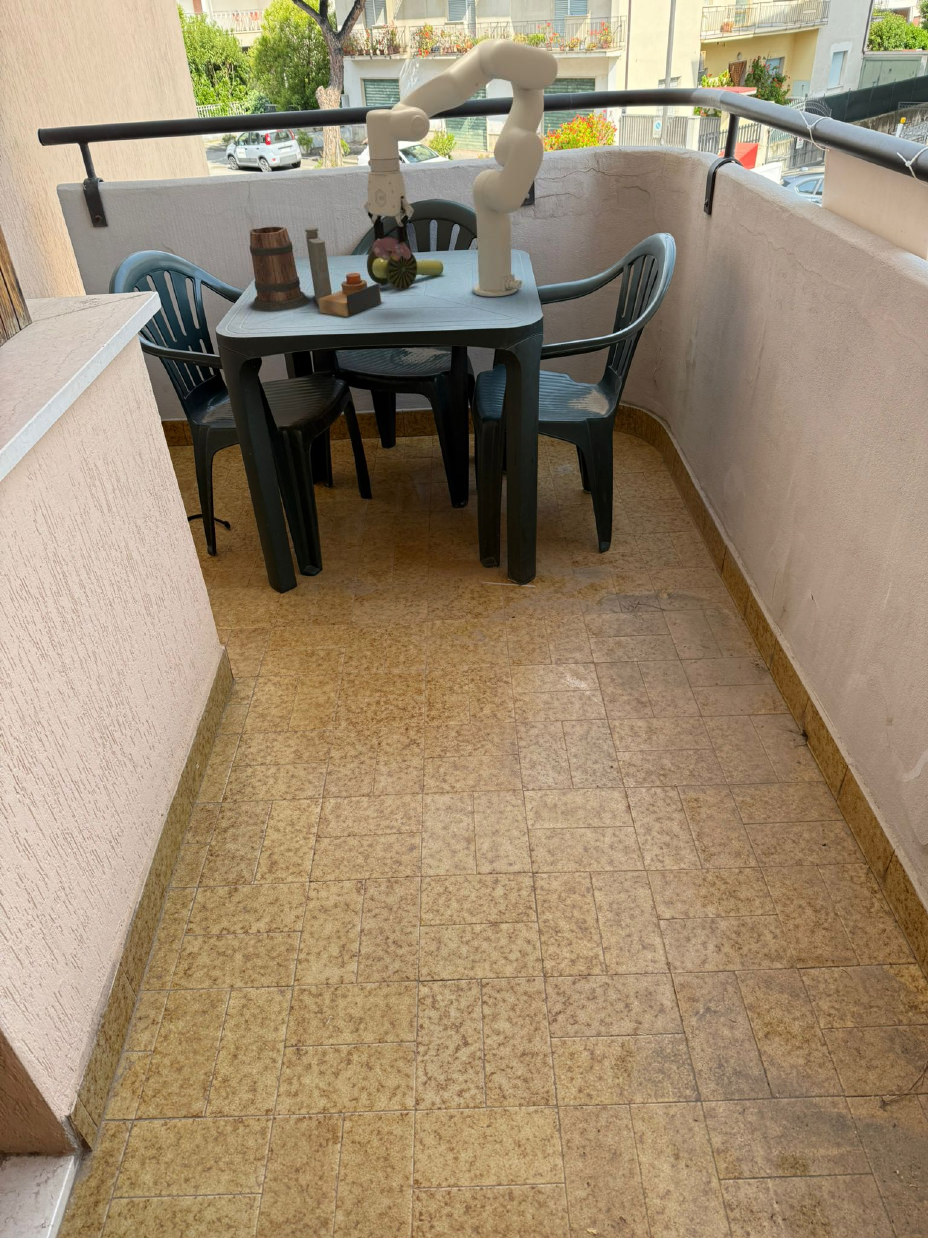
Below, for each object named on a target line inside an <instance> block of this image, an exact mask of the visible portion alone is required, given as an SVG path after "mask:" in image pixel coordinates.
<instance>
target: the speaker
mask: <svg viewBox="0 0 928 1238" xmlns="http://www.w3.org/2000/svg"><path fill="white" fill-rule="evenodd" d="M367 287H368V282H367V281H366V280H365V279H361V283H360V284H355V285H349V284H347V280H345V281H342V283H341V290H339V291H337V292H332V294H331V295H328V296H325V297H322V298H320V299H318V301H319V305H318V307H319V313H322V314H328V315H331V316H332V315H333V316H339V317H344V318H347V317H350V316H353V315H355V314H357V313H360V312H363V311H365V310H368V309H370V308H373V307H375V306H378V305H381V304H382V295H381V289H379V293H380V302H381V303H379V304H376V305H374V306H371V307H369V308H366V309H364V310H361V311H359V312H356V313H354V314H351V315H349V313H348V305H347V297H346V295H348V294H351V293H354V292H356V291H359V290H362V289H364V288H367Z"/></svg>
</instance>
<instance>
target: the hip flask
mask: <svg viewBox="0 0 928 1238" xmlns="http://www.w3.org/2000/svg"><path fill="white" fill-rule="evenodd" d="M304 232H305V239H306V246H307V253H308V259H309V265H310V272H311V273H310V274H311V278H312V286H313V293H314V301H315V302H316V305H318V306H319V301H318V299H320V298H322V297H325V296H328V295H331V294H333V291H332V285H331V278H330V270H329V264H328V256H327V249H326V242H325V240H323V239H321V238H320V237H319V228H318V227H316V226H309V227H305V228H304Z"/></svg>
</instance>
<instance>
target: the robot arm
mask: <svg viewBox="0 0 928 1238" xmlns="http://www.w3.org/2000/svg"><path fill="white" fill-rule="evenodd" d="M558 70H559V68H558V62H557V59H556V57H555V56H554V54H553V53H552V52H551V51H549V50H547V49H544V48H540V47H537V46H533V45H529V44H525V43H521V42H519V41H515V40H512V39H508V38H502V37H501V38H499V37H497V38H493V37H491V38H485V39H482V40H480V41H479V42H478V43H476V44H475V45H474V46H473V47H471V49H469V50H468V51H467V52H465V53H464V54H463V55H462V56H461V57H459V58H458V59H457V60H456V61H454V62H453V63H452V64H451V65H450V66H448V67H447V68H446V69H445V70H443V71H442V72H440V73H439V74H437V75H435V76H434V77H432V78H431V79H429V80H428V81H426V82H424V83H422V84H421V85H419V86H418V87H416V88H414V89H413V90H411V91H410V92H409V93H407V95H405V96H404V97H403V98H402V99H400V100H399V101H398V102H397V103H396V104H395V105H393V106H392V108H391V109H388V108H387V109H386V108H384V109H383V108H382V109H373V110H369V111H368V112H366V116H365V119H366V120H365V122H366V123H365V124H366V134H367V146H368V156H369V157H368V158H369V160H368V161H367V165H368V166H369V167H370V171H369V172H368V174H367V175H368V176H367V201H366V202H365V204H364V205H363V208H364V209H365V212H366V213H367V216H368V218H369V219H370V222H371V224H373V233H374V240H375V241H377V239H381V240H382V239H383V238H385V229H384V228H385V227H384V222H383V221H382V219H383V217H392V218H393V217H394V219H395V220H396V222H397V225H398V226H396V234H397V240H398V242H399V243H402V242H404V243H405V242H407V241H408V229H407V227H408V225H409V222H410V221H411V220H412V217H413V214H414V212H415V209H414V208H413V207H412V205H411V204H410V203H409V202H408V201H407V193H406V192H407V191H406V185H405V180H404V176H403V172H402V171H401V169H400V168H401V165H400V163H401V162H400V152H399V151H400V150H399V142H412V143H417V142H420V141H422V140H423V139H425V138H426V137H427V135H428V133H429V132H430V129H431V128H430V127H431V123H430V118H431V117H433V116H435V115H437V114H439V113H441V112H442V113H443V112H445V111H449V110H452V109H455V108H458V107H460V106H462V105H464V104H465V103H467V101H468V100H470V99H471V98H472V97H473V96H474V95H476V94H477V93H479V92H480V91H481V90H482V89H483V88H484V87H486V86H487V85H488V84H490V83H491V82H492V81H493V80H503V81H506V82H510V84H511V85H510V86H511V89H512V96H513V97H512V103H511V107H510V110H509V112H508V115H507V118H506V120H505V121H504V124H503V127H502V129H501V131H500V134H499V136H498V137H497V140H496V142H495V143H494V144H495V145H494V149H493V156H494V160H495V162H496V163H497V164H498V165H499V166H501V167H502V170H499V169H493V168H489V169H485V170H482V171H481V172H480V173H478V174H477V176H476V177H475V179H474V181H473V185H472V200H473V205H474V206H473V207H474V212H475V219H476V220H475V221H476V244H477V273H478V284H476V285H475V286H474V287H473V293H474V294H475V295H478V296H481V297H504V296H508V295H512V294H515V293H516V292H517V291H518V290H520V289H521V288H522V285H523V281H522V280H520V279H516V278H515V277H516V276H515V274H514V273H512V235H511V234H512V226H511V216H510V214H511V213H514V212H516V211H517V210H519V208H520V207H521V206H522V205H523V203H524V201H525V200H526V198H527V196H528V194H529V192H530V190H531V187H532V185H533V183H534V182H535V179H536V177H537V174H538V173H539V170H540V168H541V166H542V162H543V158H544V144H543V142H542V140H541V138H540V136H539V135H538V134H537V131H538V128H539V127H540V124H541V121H542V118H543V115H544V110H545V109H544V108H545V101H544V92H543V90H545V89H548V88H549V87H551V86H552V85H553V84H554V82H555V81H556V79H557V76H558Z"/></svg>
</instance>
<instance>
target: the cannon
mask: <svg viewBox="0 0 928 1238" xmlns="http://www.w3.org/2000/svg"><path fill="white" fill-rule="evenodd" d="M388 252H389V254H390V256H389V258H388V260H383V259H382V258H381V257H380V258H379V257H377V256H376V255H375V253H374V252H373V250H372V249H371V250H370V251H369V253H368V255H367V259H366V271H367V273H368V276H369V278H370V279H371V280H372V281H373V283H375V284H379V285H386V284H388V283H389V285H390V286H391V287H392V288H394V289H396V290H399V291H404V290H407V289H409V288H410V287H411V286H412V285H413V284H414V282H415V281H416V278H417V276H441V275H442V274H443V272H444V264H443V262H442V261H441V260H431V259H430V260H429V259H427V260H426V259H425V260H424V259H423V260H417V259H416V256H415V255H414V253H412V251H410V253H411V257H410V259H406V258H404V257H403V256H400V259H399V260H398V261H395V260H393V259H392V257H391V256H392V253H393V251H388Z"/></svg>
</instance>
